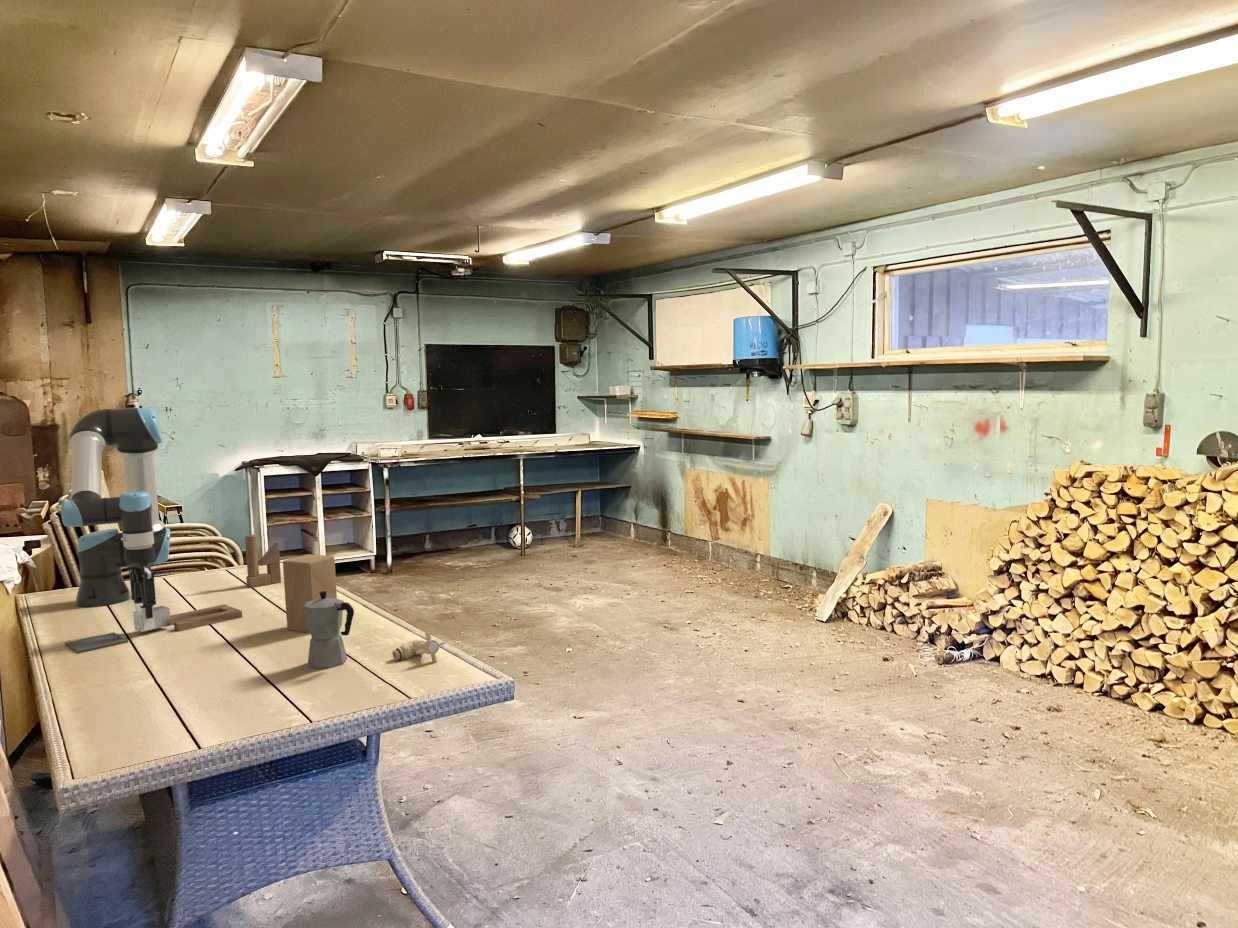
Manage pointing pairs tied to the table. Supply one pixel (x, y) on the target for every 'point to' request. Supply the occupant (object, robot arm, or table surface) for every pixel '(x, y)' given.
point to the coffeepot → (327, 631)
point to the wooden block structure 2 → (269, 559)
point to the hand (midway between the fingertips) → (145, 627)
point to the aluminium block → (159, 618)
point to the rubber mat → (96, 642)
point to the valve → (418, 648)
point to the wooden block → (306, 585)
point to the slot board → (204, 617)
